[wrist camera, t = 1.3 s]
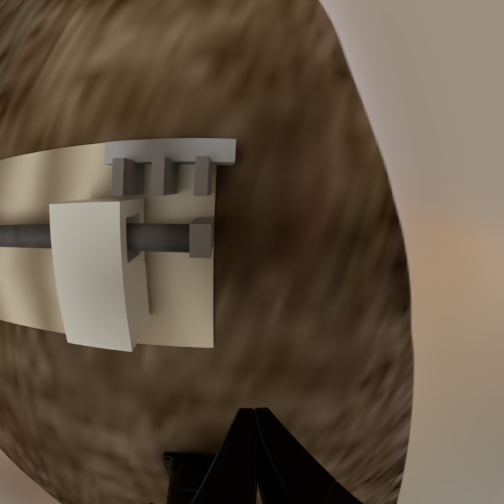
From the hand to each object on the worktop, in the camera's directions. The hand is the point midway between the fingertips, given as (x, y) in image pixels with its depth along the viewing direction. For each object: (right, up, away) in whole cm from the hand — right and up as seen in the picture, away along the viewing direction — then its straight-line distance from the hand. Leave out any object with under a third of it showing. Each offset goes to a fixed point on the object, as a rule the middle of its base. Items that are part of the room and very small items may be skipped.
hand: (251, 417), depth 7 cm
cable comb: (-14, +5, +9) cm, 17 cm away
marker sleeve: (-8, +4, +8) cm, 13 cm away
